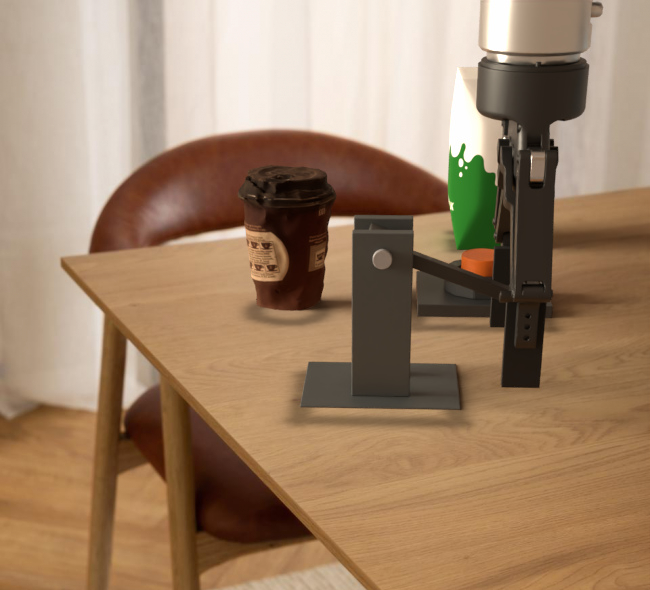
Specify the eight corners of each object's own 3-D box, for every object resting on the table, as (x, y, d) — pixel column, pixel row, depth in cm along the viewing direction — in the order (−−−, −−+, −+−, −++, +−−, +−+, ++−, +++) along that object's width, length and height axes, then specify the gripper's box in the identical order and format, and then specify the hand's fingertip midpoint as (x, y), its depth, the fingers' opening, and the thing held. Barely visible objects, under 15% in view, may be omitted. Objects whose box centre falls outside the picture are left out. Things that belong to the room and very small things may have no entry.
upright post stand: (455, 377, 96) (463, 208, 90) (459, 423, 88) (468, 242, 82) (308, 374, 97) (305, 207, 91) (300, 420, 89) (296, 240, 83)
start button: (502, 266, 111) (503, 248, 110) (505, 279, 107) (507, 261, 106) (459, 266, 111) (460, 248, 110) (461, 279, 108) (462, 260, 107)
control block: (539, 293, 115) (542, 253, 113) (550, 329, 106) (554, 286, 104) (415, 292, 116) (416, 252, 114) (416, 327, 107) (418, 285, 105)
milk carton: (532, 253, 127) (547, 56, 118) (447, 252, 127) (456, 56, 118) (523, 230, 135) (536, 44, 125) (443, 230, 135) (451, 45, 126)
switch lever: (519, 305, 91) (532, 277, 90) (525, 328, 87) (539, 298, 86) (360, 246, 90) (371, 217, 89) (358, 266, 85) (370, 236, 84)
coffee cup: (271, 333, 106) (267, 187, 100) (225, 307, 112) (219, 169, 106) (351, 314, 110) (352, 173, 104) (303, 291, 116) (301, 157, 110)
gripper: (618, 84, 70) (583, 420, 80) (567, 32, 91) (545, 303, 101) (490, 83, 70) (471, 418, 80) (469, 32, 91) (457, 302, 101)
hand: (512, 354), depth 90 cm, fingers open, 12 cm apart
